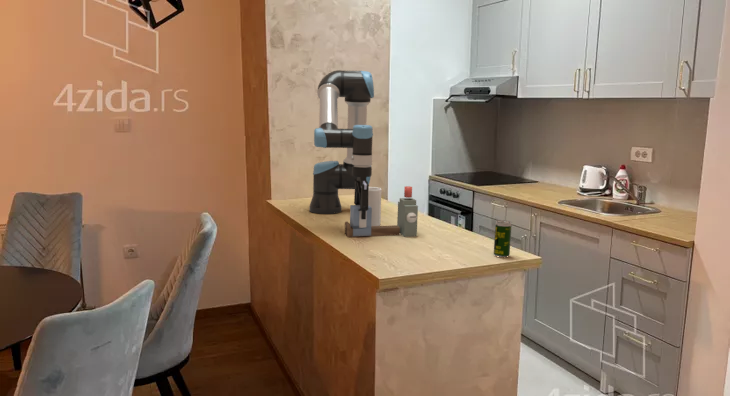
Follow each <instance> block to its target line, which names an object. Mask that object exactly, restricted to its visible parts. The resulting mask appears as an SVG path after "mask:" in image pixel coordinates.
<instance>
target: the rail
mask: <svg viewBox="0 0 730 396" xmlns="http://www.w3.org/2000/svg"><path fill="white" fill-rule="evenodd" d="M344 235H345V237H347V238H350V237H351V238H352V237H353V238H355V237H358V236H353V228H352V227H350V222H349V221H344ZM382 236H385V237H387V236H401V234H400V227H399V226H397V224H396V225H394V224H393V225H380V226H371V236H370V237H382Z"/></svg>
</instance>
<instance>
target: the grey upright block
mask: <svg viewBox="0 0 730 396" xmlns="http://www.w3.org/2000/svg"><path fill="white" fill-rule="evenodd" d="M418 210H419V206H418V205H417V199H415V198H413V197H411V198H406V197H402V198H401V197H400V198H399V201H397V217H396V219H397V220H396V221H397V223H396V225H397V226H399V227H400V236H403V237H404V238H406V237H407V238H408V237H409V238H410V237H411V238H412V237H418V236H417V235H418V216H419V214H418V213H419V212H418Z"/></svg>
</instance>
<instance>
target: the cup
mask: <svg viewBox="0 0 730 396" xmlns="http://www.w3.org/2000/svg"><path fill="white" fill-rule="evenodd" d="M368 205H369V206H370V207H371V208H372V220H371V226H381V220H382V219H381V218H382V217H381V215H382V212H381V211H382V188H381V187H377V186H369V189H368Z"/></svg>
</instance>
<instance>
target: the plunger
mask: <svg viewBox="0 0 730 396" xmlns="http://www.w3.org/2000/svg"><path fill="white" fill-rule="evenodd" d="M403 195H404V196H403V198H413V186H410V185H408V186H407V185H406V186H404V193H403Z"/></svg>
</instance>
